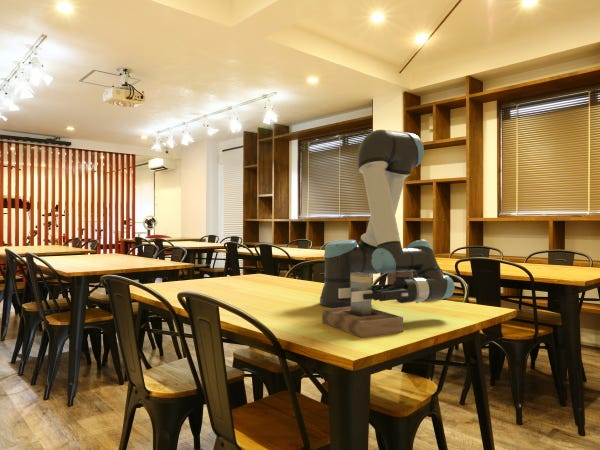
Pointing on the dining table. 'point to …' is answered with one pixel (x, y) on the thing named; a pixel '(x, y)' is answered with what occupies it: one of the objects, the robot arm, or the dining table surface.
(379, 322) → the walnut post block
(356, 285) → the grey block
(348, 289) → the robot arm
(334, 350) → the dining table surface
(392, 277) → the wooden block
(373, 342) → the dining table surface
